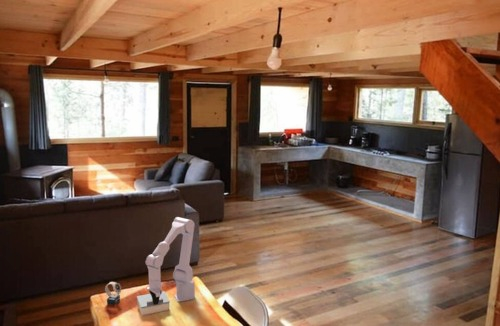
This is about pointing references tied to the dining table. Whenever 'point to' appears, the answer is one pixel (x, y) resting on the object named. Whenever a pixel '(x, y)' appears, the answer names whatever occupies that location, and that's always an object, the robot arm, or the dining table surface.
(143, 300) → the lid
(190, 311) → the dining table surface
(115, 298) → the watch
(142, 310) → the box
